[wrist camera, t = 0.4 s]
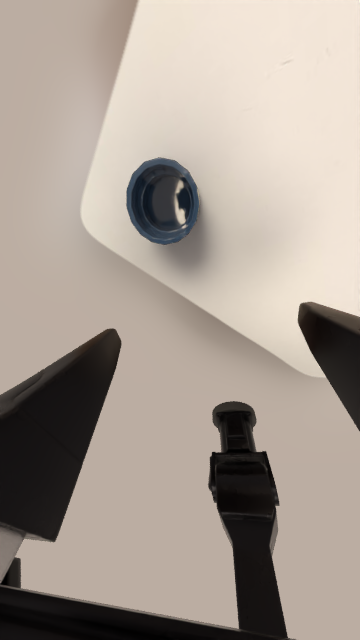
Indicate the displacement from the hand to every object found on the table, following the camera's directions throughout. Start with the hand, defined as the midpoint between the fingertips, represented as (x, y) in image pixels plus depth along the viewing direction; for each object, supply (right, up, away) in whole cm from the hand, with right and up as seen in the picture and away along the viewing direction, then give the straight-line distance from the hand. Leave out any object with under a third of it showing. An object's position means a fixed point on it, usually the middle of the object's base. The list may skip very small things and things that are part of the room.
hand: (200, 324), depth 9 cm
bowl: (-2, +12, +10) cm, 16 cm away
